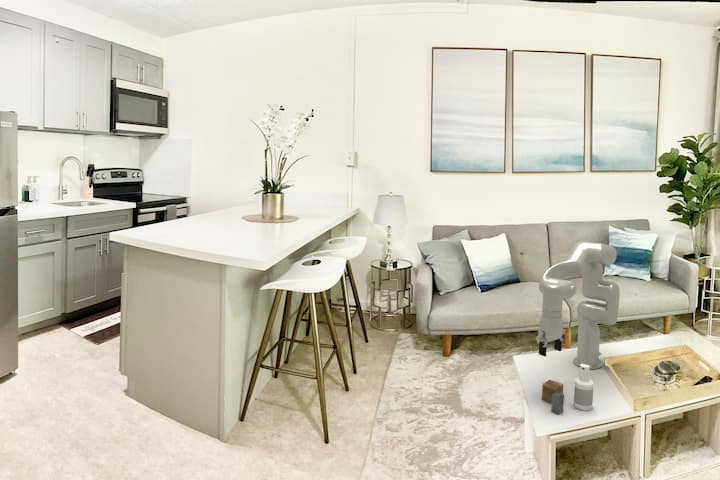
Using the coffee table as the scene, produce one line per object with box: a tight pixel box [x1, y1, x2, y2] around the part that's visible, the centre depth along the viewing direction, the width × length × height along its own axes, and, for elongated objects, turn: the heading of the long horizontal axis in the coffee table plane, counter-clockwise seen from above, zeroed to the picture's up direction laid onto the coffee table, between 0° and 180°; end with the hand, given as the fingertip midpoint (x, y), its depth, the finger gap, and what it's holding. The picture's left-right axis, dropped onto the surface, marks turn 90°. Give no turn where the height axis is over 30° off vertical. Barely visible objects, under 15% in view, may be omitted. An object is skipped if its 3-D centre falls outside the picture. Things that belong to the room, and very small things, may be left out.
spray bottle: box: [573, 364, 594, 412], centre depth 191 cm, size 7×7×18 cm
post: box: [551, 392, 565, 415], centre depth 189 cm, size 3×3×8 cm
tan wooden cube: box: [541, 379, 564, 405], centre depth 198 cm, size 6×6×7 cm
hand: (550, 352), depth 195 cm, fingers open, 9 cm apart
